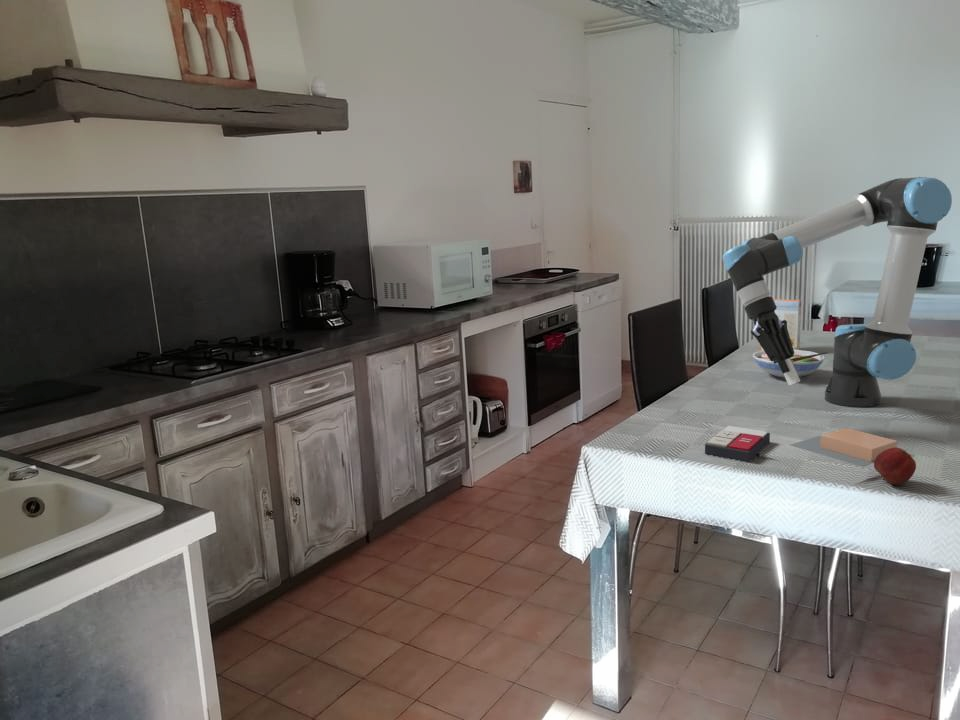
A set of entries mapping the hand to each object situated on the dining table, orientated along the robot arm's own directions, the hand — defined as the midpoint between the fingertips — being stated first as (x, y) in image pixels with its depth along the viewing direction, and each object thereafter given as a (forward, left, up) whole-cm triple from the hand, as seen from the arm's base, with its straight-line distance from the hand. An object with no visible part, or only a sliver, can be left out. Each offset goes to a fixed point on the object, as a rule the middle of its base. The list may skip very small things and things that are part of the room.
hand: (794, 383), depth 196 cm
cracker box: (-87, -59, -13) cm, 106 cm away
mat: (+4, +17, -13) cm, 22 cm away
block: (+4, +13, -11) cm, 17 cm away
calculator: (+22, -1, -14) cm, 26 cm away
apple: (+17, +34, -13) cm, 40 cm away
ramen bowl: (-54, -35, -13) cm, 66 cm away
